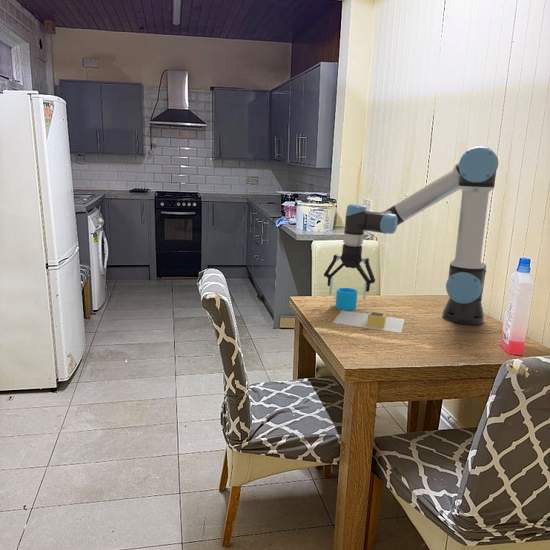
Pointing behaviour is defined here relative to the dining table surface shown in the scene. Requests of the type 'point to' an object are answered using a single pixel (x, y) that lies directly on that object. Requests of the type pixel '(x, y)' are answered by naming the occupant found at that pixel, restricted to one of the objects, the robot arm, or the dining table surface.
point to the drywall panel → (362, 318)
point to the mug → (346, 298)
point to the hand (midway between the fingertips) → (347, 296)
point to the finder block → (376, 319)
